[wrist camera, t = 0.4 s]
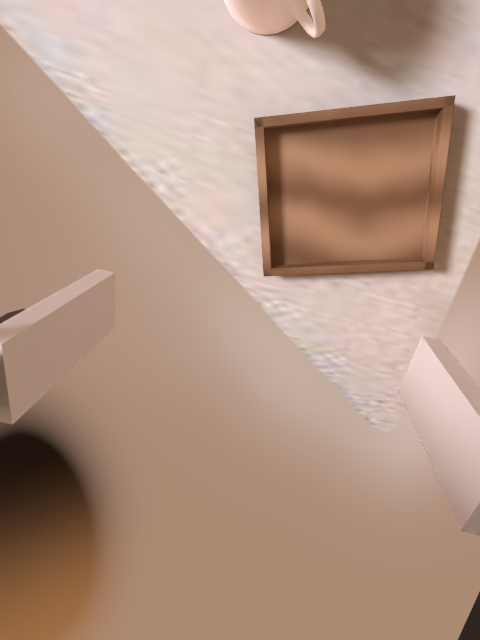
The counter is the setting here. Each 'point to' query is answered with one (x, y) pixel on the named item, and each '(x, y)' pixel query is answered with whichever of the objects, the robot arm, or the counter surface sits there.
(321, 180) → the tray
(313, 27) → the mug
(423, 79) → the counter surface
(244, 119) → the counter surface
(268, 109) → the counter surface
